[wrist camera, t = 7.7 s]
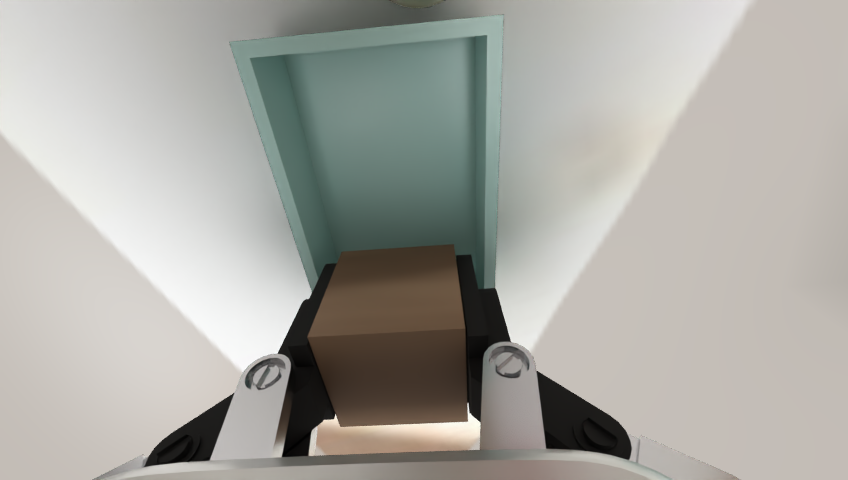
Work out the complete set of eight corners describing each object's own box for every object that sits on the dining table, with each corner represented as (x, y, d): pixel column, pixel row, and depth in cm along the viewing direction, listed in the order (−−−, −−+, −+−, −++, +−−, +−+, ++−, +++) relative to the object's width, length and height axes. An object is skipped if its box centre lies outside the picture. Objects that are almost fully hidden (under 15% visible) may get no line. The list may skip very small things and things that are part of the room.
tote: (274, 41, 11) (229, 41, 9) (485, 20, 11) (503, 14, 8) (341, 286, 17) (325, 332, 14) (482, 278, 16) (493, 322, 14)
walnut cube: (341, 251, 12) (307, 336, 8) (453, 244, 12) (465, 328, 8) (361, 331, 14) (340, 426, 10) (457, 326, 14) (467, 421, 10)
